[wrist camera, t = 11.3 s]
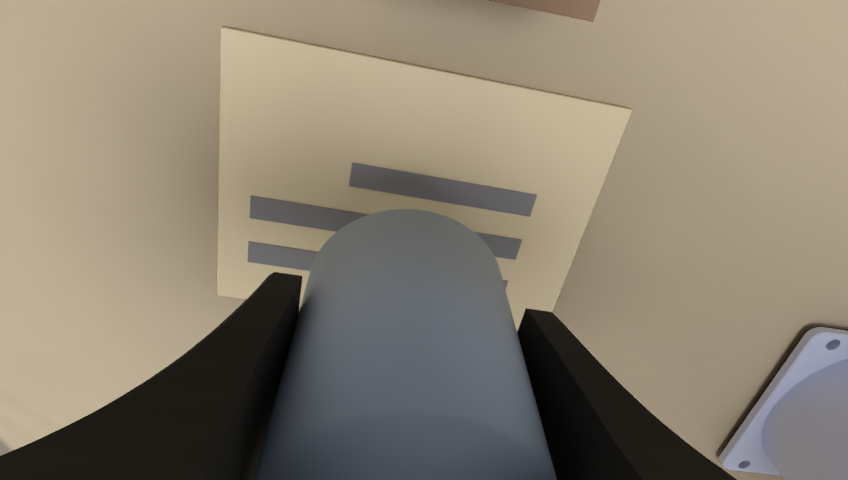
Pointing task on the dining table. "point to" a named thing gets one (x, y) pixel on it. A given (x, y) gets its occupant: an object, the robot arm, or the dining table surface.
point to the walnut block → (560, 7)
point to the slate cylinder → (405, 363)
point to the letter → (399, 161)
